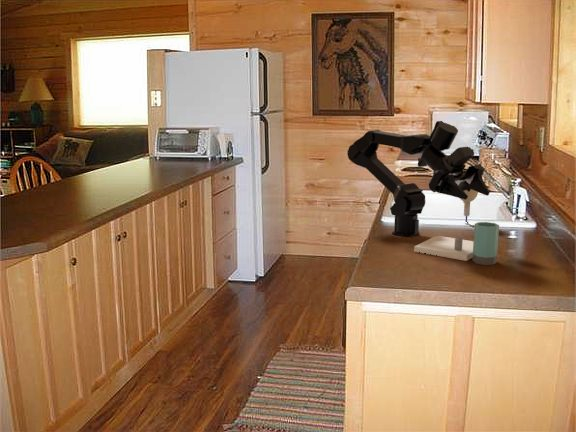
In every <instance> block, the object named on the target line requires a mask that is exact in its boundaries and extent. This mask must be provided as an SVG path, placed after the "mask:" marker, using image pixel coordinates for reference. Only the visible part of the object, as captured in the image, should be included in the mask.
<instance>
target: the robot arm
mask: <svg viewBox="0 0 576 432" xmlns="http://www.w3.org/2000/svg"><path fill="white" fill-rule="evenodd" d="M458 132H459V129H458V128H457V127H456V125H455V126H454V125H451V124H449V123H446V122H444V121H442V120H436V122H435V124H434V128H433V130H432V131H431V134H430V135H428V134H427V133H424V134H423V133H421V134H419V133H418V134H408V135H407V134H401V133H393V132H387V131H382V130H380V129H375V130H374V129H373V130H371V129H370V130H368V131H366V132H365V133H364V135H363V136H361V137H360V138H357V140H356V141H354V142H353V143H352V144H350V145H349V147H348V149H347V152H346V153H347V158H348V160H349V161H350V162H352V163H353V164H354V165H356V166H359V167H361V168H365V169H366V170H367V172H369V173H370V174H371V175H372V176H373V177H374V178H375V179H376V180H378V181H379V182H380V184H382V186H384V187H385V188H386V189H387V190H388V191H389V193H391V194H392V196H393V202H394V204H392V206H390V208H389V209H390V215H392V216H394V228H393V229H394V230H393V231H391V234H392V235H396V236H402V237H410V238H412V237H413V236H415V235H418V234H420V231H419V224H420V220H419V218H418V215H419V214H422V213H423V209H424V207H425V205H426V195H425V194H424V192H423V191H424V190H423V189H421V188H420V187H419V186H418V185H417V184H416V183H415V182H413V183H412V182H411V183H405V182H403V180H401V178H399V176H397V175H396V174H395V173H394V172H393V171H392V170H390V169H389V167H388V166H387V165H385V164H384V163H383V162H382V161H381V160H380V159H379V158H378V153H377V151H378V149H379V146H380V145H381V146H386V147H392V148H397V149H400V150H401V151H402V152H404V153H406V154H408V155H410V156H411V155H413V156H414V155H421V156H420V157H418V158H417V167H418V168H423V167H429V168H430V170H432V171H433V172H432V176H431V178H430V180H429V182H428V188H429V190H431V192H433V193H437V194H443V195H447V196H451V197H454V198H458V199H460V198H461V199H465V200H466V199H467V198H468V196H467V194H466V193H465V192H464V191H463V190H462V189H461V188H460V187H459V186H458V185H459V184H458V183H460V182H462V181H463V184H465V185H466V186H468V188H470V189H472V190H474V191H477V192H478V194H481V195H484V196H489V195H490V191H489V189H488V186H487V185H486V183H485V181H484V179H483V175H484V172H485V171H486V170H485V167H484V166H482V165H481V164H475V165H470V166H468V167H467V169H466V171H465V172H464V171H463V170H465V168H466V166H467V165H466V163H467V162H469V160H470V159H472V158H474V156H475V152H474V149H473V148H471V147H470V146H461V147H457V148H456V149H455V150H454V151H452V153H450V154H449V155H447V154H446V153H444V152H443V151H446V150H449V149H450V148H451V146H452V145H453V142H454V141H455V139H456V136H457V135H458ZM461 199H460V200H461Z"/></svg>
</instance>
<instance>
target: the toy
mask: <svg viewBox="0 0 576 432" xmlns="http://www.w3.org/2000/svg"><path fill="white" fill-rule="evenodd" d="M457 185H458V186H459V187H460V188H461V189H462V190H463V191H464V192H465V193H466V194H467V196H468V198H467V199H466V200H465V199H461V198H459V199H460V201H462V203H463V204H464V205H463V216H464V217H465V222H467V223H468V224H469V222H468V217H470V215H471V214H470V213H471V211H470V210H471V202H473V201H474V200H475V199H476V198H477V197H478V195H479V192H477V191H474V190H472V189H470V188H468V186H466V185H465V184H463V181H462V182H458V184H457Z"/></svg>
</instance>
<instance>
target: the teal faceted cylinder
mask: <svg viewBox="0 0 576 432" xmlns="http://www.w3.org/2000/svg"><path fill="white" fill-rule="evenodd" d="M499 231H500V224H498V223H495V222H489V221H488V222H487V221H480V222H476V223H474V229H473V241H474V242H473V257H472V258H471V260H472V262H474V264H477V265H481V266H482V265H483V266H491V265H492V266H494V265H495V264H497V260H498V259H497V258H498V248H499V247H498V246H499V234H500V233H499Z"/></svg>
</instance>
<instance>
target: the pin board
mask: <svg viewBox="0 0 576 432" xmlns="http://www.w3.org/2000/svg"><path fill="white" fill-rule="evenodd" d="M473 242H474V240H468V239H467V240H466V239H463V238H462V237H460V236H458V237H456V238H454V237H449V236H448V237H447V236H443V235H442V236H441V235H435V236H433V237H431V238H429V239H426V240H424V241H422V242H421V243H419V244H417V245H414V247H413V248H414V250H413V251H414V253H419V252H420V253H419V254H424V253H426V254H425V255H430V254H431V256H436V255H437V257H442V258H449V259H454V260H459V261H463V262H464V261H466V262H467V261H469V260H470V259H471V260H472V258H473Z"/></svg>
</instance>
